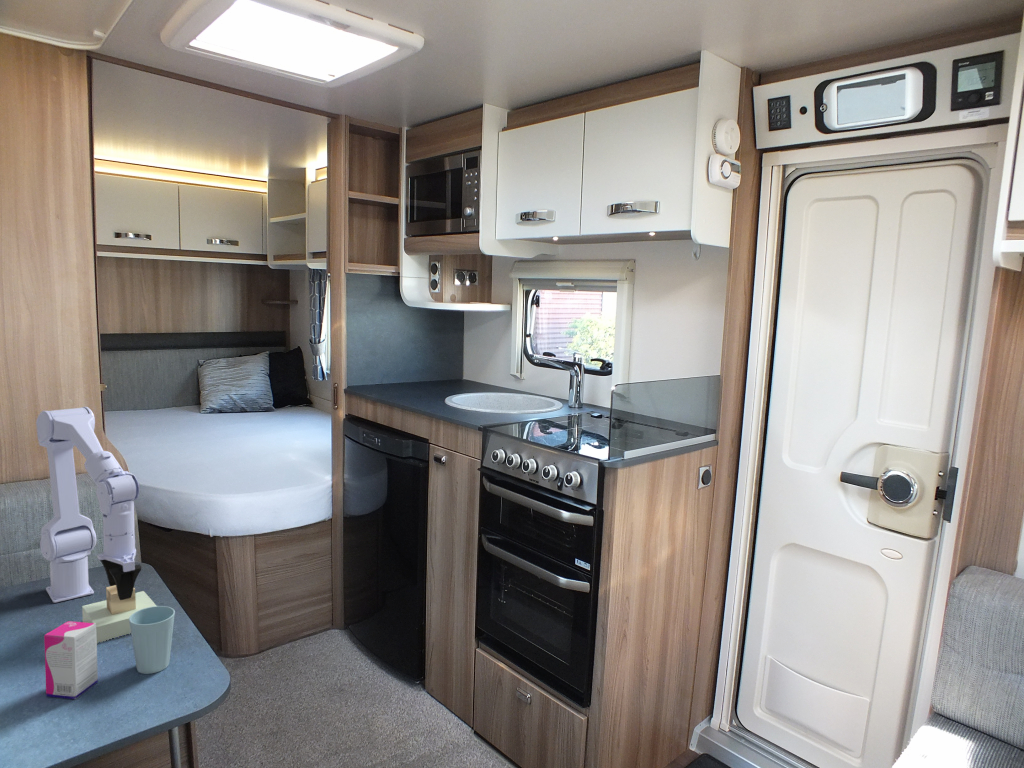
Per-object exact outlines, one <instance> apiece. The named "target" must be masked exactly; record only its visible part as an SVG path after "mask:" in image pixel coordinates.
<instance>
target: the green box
mask: <svg viewBox="0 0 1024 768" xmlns="http://www.w3.org/2000/svg"><path fill="white" fill-rule="evenodd" d="M135 597H136V609H133V610H130V611H126V612H122V613H118V614H114V615H112V614H111V613H110V611H109V610H108V608H107V599H105V600H101V601H96V602H93V603H89V604H86V605H85V604H84V605H82V606H81V610H82V611H81V612H82V622H84V623H96V637H97V644H99V643H98V642H100V643H104V642H107V641H110V640H109V639H111V640H113V639H112V638H114V639H116V638H115V637H118V638H120V637H119V636H122V635H125V636H127V635H126V634H129V633H131V629H130V623H129V618H130V616H131V615H132V614H133V613H135V612H137V611H139V610H141V609H144V608H148V607H154V606H157V605H156V603H155V602H154V600H152V599H151V598H150V596H149V595H148V594H147V593H146V592H145V591H144V590H142V591H137V592H135ZM129 635H130V634H129ZM122 637H123V636H122ZM106 640H107V641H106ZM103 641H104V642H103Z"/></svg>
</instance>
